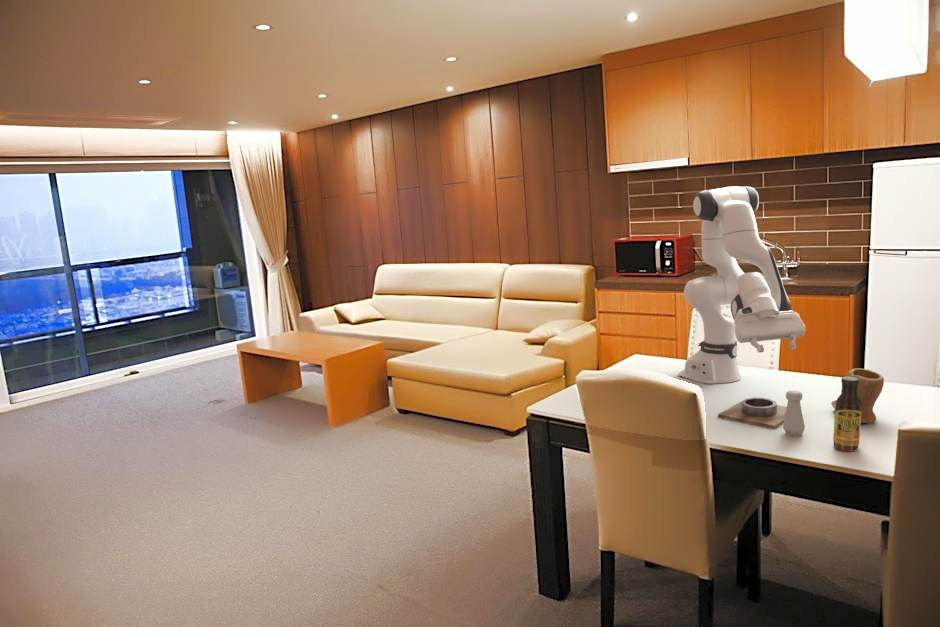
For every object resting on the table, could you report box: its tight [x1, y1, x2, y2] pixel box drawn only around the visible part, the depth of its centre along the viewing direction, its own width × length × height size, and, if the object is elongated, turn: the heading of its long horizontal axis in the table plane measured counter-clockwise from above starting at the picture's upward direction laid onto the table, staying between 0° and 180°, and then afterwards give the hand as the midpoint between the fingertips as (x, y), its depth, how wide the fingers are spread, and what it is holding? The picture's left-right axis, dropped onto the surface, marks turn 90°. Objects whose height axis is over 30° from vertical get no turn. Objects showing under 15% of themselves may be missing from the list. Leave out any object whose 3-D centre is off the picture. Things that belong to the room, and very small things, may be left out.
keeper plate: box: [718, 400, 787, 430], centre depth 215 cm, size 18×18×1 cm
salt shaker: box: [782, 390, 806, 438], centre depth 196 cm, size 6×6×13 cm
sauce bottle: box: [832, 376, 862, 452], centre depth 183 cm, size 7×6×20 cm
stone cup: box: [830, 367, 885, 424], centre depth 205 cm, size 15×12×15 cm
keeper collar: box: [742, 397, 778, 417], centre depth 214 cm, size 10×10×3 cm
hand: (777, 349), depth 205 cm, fingers open, 8 cm apart
